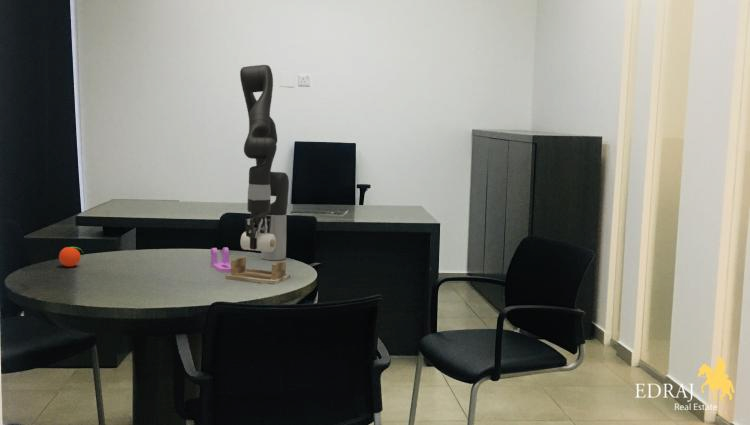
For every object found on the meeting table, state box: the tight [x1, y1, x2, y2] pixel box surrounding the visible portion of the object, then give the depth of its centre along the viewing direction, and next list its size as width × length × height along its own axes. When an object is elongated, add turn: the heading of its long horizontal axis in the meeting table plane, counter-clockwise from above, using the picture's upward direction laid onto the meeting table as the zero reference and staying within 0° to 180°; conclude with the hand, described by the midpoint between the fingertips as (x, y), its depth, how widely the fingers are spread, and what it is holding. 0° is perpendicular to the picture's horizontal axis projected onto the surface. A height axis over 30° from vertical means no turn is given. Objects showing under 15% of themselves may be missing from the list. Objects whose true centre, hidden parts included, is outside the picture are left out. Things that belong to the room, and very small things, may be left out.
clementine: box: [58, 246, 85, 268], centre depth 264 cm, size 8×7×7 cm
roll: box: [240, 231, 276, 252], centre depth 255 cm, size 11×6×6 cm, turn 70°
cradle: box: [225, 256, 291, 285], centre depth 256 cm, size 12×18×6 cm, turn 71°
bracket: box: [210, 246, 231, 273], centre depth 269 cm, size 13×6×7 cm, turn 27°
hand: (257, 247), depth 255 cm, fingers closed on roll, 6 cm apart
